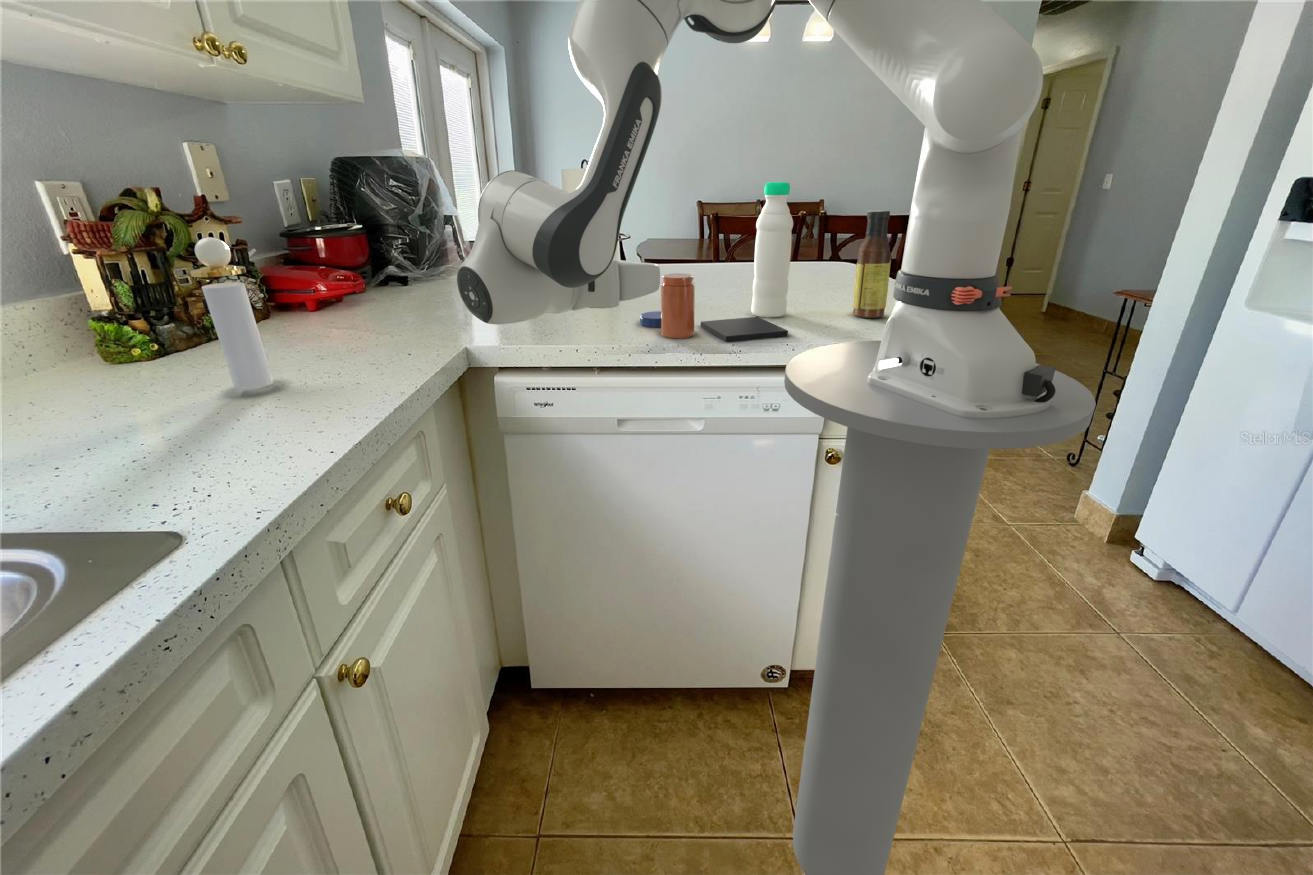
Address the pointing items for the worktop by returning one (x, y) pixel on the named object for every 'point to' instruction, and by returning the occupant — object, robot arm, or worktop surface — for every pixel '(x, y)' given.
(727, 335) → the coaster
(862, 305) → the sauce bottle
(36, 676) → the worktop surface
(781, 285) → the water bottle
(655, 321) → the lid
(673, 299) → the jar
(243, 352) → the perfume bottle
